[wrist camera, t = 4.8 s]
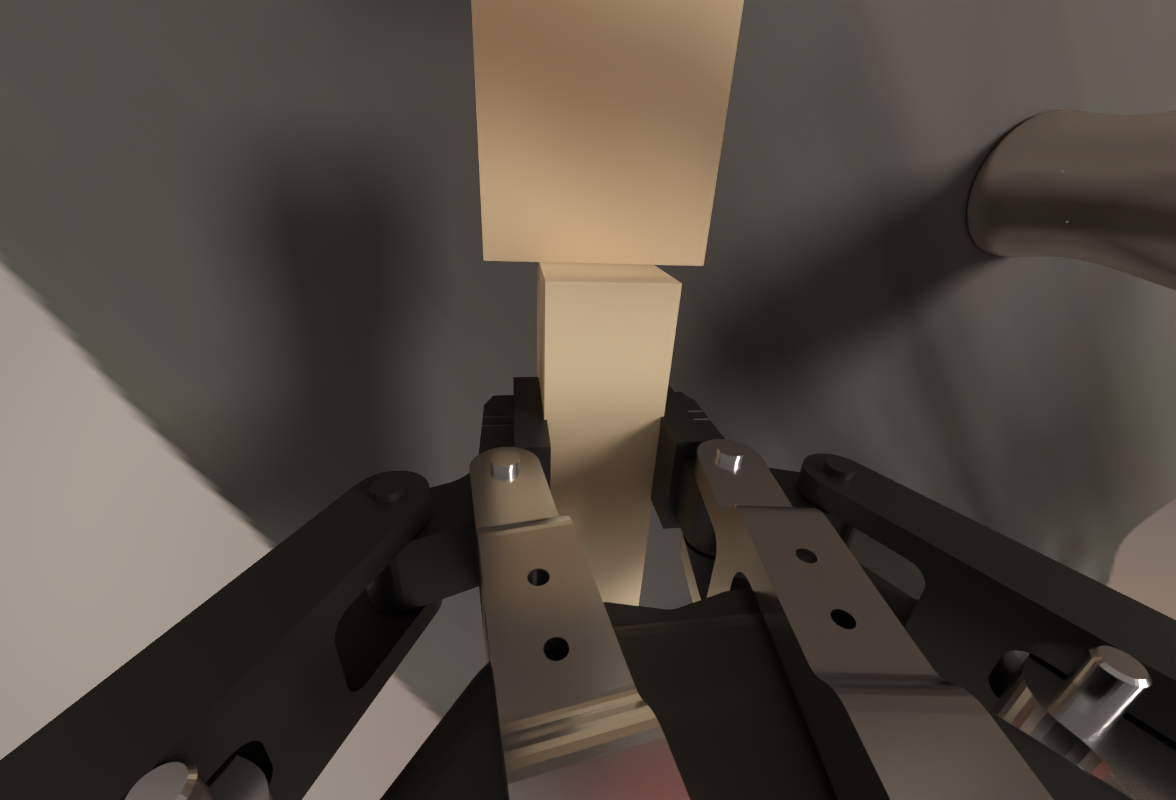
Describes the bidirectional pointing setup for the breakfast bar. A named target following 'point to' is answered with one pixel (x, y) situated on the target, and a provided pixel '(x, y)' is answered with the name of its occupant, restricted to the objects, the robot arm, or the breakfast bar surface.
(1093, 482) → the breakfast bar surface
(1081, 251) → the beer glass
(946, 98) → the breakfast bar surface
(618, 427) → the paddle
